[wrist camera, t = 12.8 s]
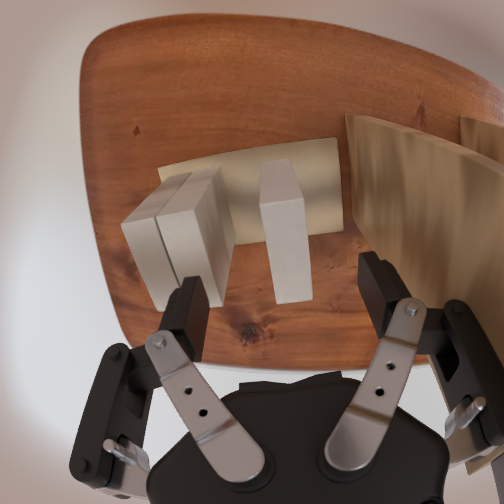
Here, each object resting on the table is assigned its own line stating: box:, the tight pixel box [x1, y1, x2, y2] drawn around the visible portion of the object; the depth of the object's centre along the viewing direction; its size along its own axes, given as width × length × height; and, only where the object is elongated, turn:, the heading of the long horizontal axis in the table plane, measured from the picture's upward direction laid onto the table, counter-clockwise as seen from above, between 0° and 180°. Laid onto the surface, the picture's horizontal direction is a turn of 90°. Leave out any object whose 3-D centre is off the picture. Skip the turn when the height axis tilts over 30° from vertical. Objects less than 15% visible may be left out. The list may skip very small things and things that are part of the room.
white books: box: [121, 137, 344, 311], centre depth 21 cm, size 9×16×10 cm, turn 100°
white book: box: [259, 159, 313, 304], centre depth 21 cm, size 7×2×10 cm, turn 10°
